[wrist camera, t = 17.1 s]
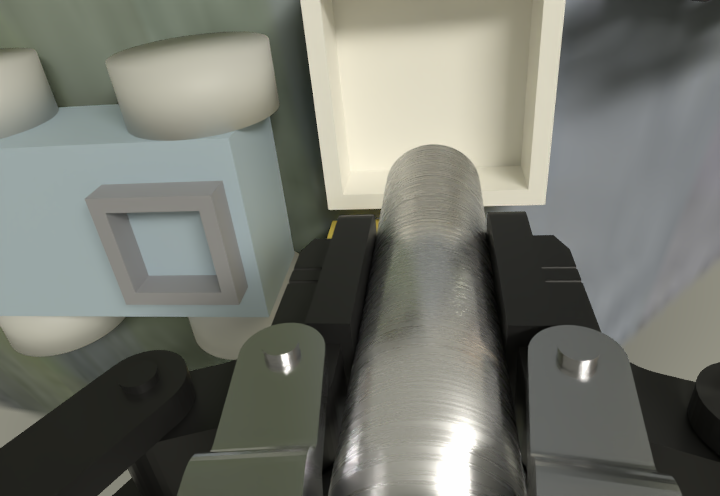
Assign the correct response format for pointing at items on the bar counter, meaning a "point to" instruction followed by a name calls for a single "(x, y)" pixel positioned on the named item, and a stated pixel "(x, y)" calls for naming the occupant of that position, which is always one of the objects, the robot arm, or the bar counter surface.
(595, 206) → the bar counter surface
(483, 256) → the pin
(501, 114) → the tray
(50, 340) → the trolley
